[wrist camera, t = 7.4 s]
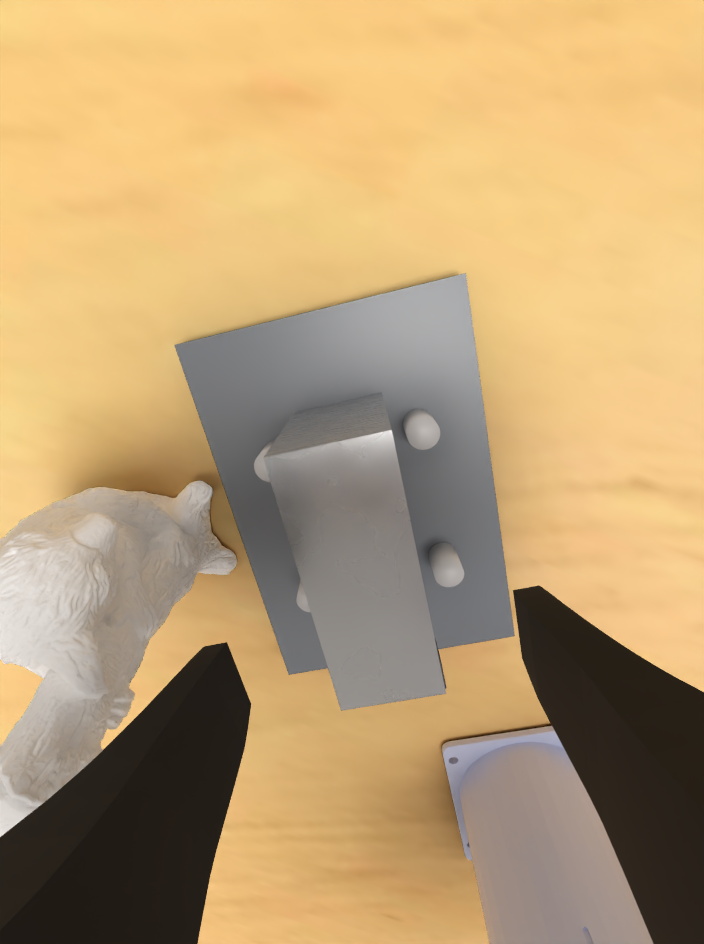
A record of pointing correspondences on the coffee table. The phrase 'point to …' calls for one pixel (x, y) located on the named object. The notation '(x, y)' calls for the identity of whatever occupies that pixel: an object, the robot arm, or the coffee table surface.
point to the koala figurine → (90, 620)
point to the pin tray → (415, 436)
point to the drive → (356, 551)
